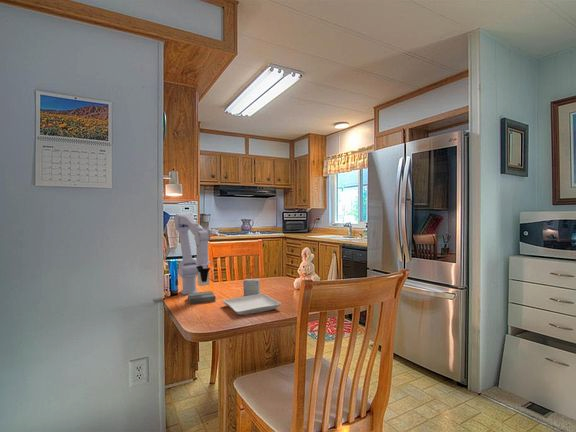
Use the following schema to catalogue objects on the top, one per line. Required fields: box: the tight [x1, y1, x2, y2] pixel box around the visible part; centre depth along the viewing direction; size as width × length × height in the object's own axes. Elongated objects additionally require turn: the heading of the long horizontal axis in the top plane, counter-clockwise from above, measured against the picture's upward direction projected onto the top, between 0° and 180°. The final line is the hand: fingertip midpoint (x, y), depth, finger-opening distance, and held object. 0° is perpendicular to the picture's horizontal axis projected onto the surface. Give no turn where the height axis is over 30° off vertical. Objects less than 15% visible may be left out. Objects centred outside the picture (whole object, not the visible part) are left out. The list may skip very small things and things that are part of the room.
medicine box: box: [242, 278, 261, 297], centre depth 167 cm, size 8×4×9 cm, turn 84°
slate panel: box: [187, 290, 217, 305], centre depth 162 cm, size 12×12×3 cm
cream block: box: [197, 271, 210, 287], centre depth 163 cm, size 5×5×6 cm
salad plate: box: [222, 293, 282, 316], centre depth 147 cm, size 21×21×3 cm
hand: (203, 280), depth 163 cm, fingers closed on cream block, 5 cm apart
